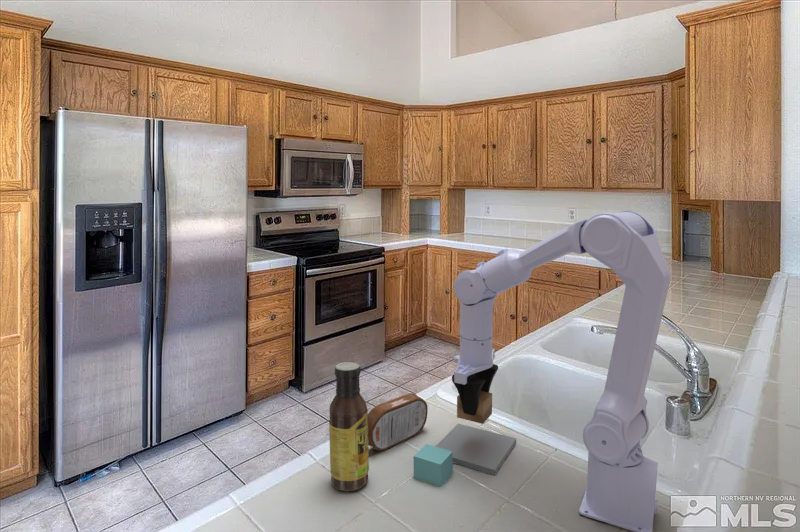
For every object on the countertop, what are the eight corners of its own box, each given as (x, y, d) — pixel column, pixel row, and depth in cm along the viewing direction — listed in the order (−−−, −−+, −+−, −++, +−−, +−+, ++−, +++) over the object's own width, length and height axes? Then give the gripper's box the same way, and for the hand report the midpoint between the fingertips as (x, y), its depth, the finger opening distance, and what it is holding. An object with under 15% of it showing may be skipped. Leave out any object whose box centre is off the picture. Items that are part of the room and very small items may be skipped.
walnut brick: (491, 413, 87) (492, 393, 87) (483, 423, 84) (483, 402, 83) (466, 407, 90) (466, 387, 89) (456, 417, 86) (457, 396, 85)
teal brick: (452, 473, 80) (452, 451, 80) (440, 487, 77) (440, 464, 76) (426, 465, 83) (426, 444, 82) (413, 478, 79) (413, 456, 79)
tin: (419, 425, 97) (419, 386, 96) (430, 431, 95) (430, 391, 93) (360, 452, 87) (359, 409, 86) (371, 459, 85) (370, 415, 84)
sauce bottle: (366, 494, 75) (363, 374, 72) (327, 493, 75) (323, 373, 72) (371, 471, 81) (369, 359, 78) (335, 470, 82) (331, 359, 79)
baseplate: (516, 443, 90) (516, 438, 90) (494, 475, 80) (494, 469, 79) (457, 428, 96) (457, 423, 96) (430, 456, 86) (430, 451, 85)
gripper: (470, 323, 93) (469, 389, 95) (437, 343, 80) (437, 419, 82) (505, 328, 89) (504, 396, 91) (477, 350, 77) (476, 429, 79)
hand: (475, 408), depth 86 cm, fingers closed on walnut brick, 4 cm apart
